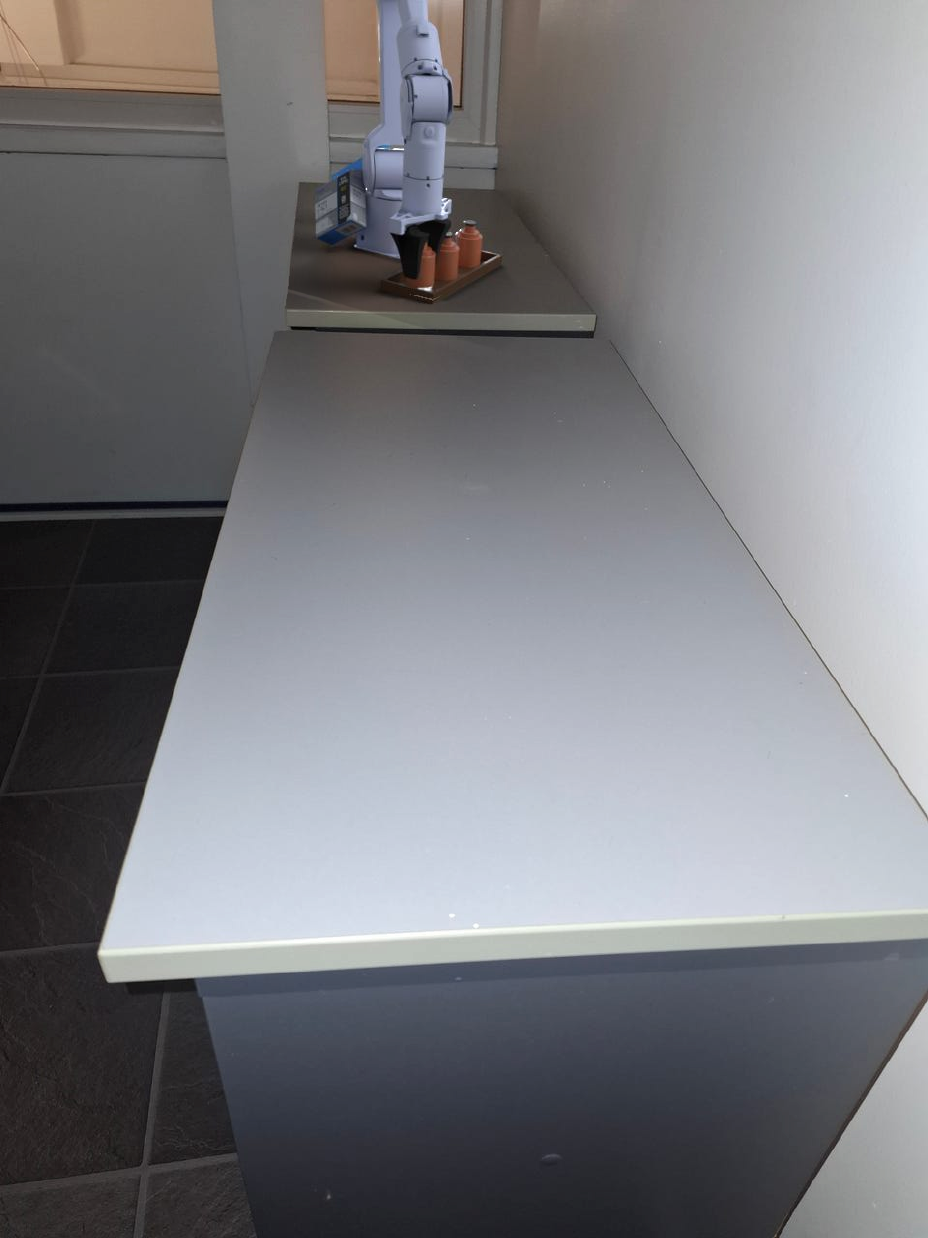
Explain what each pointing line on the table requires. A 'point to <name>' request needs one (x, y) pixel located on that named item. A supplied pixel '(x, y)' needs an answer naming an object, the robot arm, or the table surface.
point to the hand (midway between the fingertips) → (419, 273)
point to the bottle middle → (447, 260)
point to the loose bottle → (425, 270)
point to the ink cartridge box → (341, 205)
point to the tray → (444, 288)
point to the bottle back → (469, 245)
